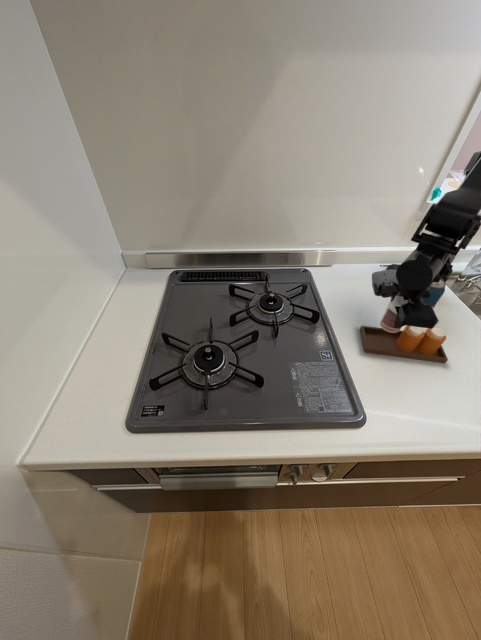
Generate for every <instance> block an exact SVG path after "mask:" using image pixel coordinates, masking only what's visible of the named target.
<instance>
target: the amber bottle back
mask: <svg viewBox="0 0 481 640" xmlns="http://www.w3.org/2000/svg"><path fill="white" fill-rule="evenodd" d="M446 340H447V336H446V332H445V331H444V330H443V328H440V327H436V326H434V328H432V329H430V328H426V330H425V332H424V337H423V338H422V340H421V341H420V342H419V344H418V345H417V347H416V348H417V350H418V351H419V352H421V353H422V354H425V355H433V354H434V353H435V352H436V351H437V350H438V348H439V347H440V346H441V345H442V346H443V343H445V341H446Z"/></svg>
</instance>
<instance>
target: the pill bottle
mask: <svg viewBox="0 0 481 640" xmlns="http://www.w3.org/2000/svg"><path fill="white" fill-rule="evenodd" d="M406 303H408V302H405V301H404V300H403V297H401V296H399V295H397V296H396V297H395V298H394V300H393V302H391V303H390V302H389V304H388V305H387V308H386V310H385V311H384V313H383V315H382V317H381V319H380V320H379V321H380V322H379V326H380V328H383V329H384V330H386V331H388V332H392V333H396V332H398V331H400V330H401V329H402V328H403V327H401V328H399V329H395V328H394V323H395V320H396V318H397V315H398V314H397V312H396V309H395V306H398V307H401V306H402V305H404V304H406Z"/></svg>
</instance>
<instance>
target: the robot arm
mask: <svg viewBox="0 0 481 640" xmlns="http://www.w3.org/2000/svg"><path fill="white" fill-rule="evenodd" d="M463 176H465V177H464V179H463V181H462V182H461V183H460V185H459V186H458V187H457V188H456V189H454V190H451V191H448V192H445V193H444V194H443V195H442V196H441V197H440V199H439V200H438V201H437V202H436V203H435V202H433V203H432V204H431V205H430V207H429V208H428V211H426V213H425V215H424V217H423V218H422V219H421V221H420V223H419V224H418V226H417V228H416V230H415V232H414V233H413V235H412V237H411V238H410V241H411V242H413V243H417V246H416V248H415V249H414V250H413V251H411V253H410V254H409V255H408V256H407V257H406V258H405V259H404V260H403V261H402V262H401V263H400V264H398V263H392V264H390V265H388V266H386V268H385V270H379V271H374V272H372V273H371V287H372V291H373V294H374V296H376V297H381V298H383V299H386V298H390V300H389V301H390V302H389V304H390V303H391V302H393V300H394V298H395V297H396V296H397V295H399V296H401V297H403V300H404V301H405V302H408V303H406V304H404V305H402V306H401V307H398V306H395V309H396V312H397V314H398V315H397V318H396V320H395V323H394V328H395V329H399V328H401V327H402V328H403V327H406V326H414V327H421V328H422V329H429V328H430V329H432V328H434V327H436V326H437V324H438V322H439V321H440V320H439V318H438V316H437V314H436V312H435V310H434V308H432V306H431V305H426V304H424V303H422V301H421V298H429V296H430V295H431V294H430V292H429V288H430V286H431V285H432V283H433V282H439V281H440V279H443V280H444V281H445V283H446V282H447V280H449V278H450V277H451V275H452V273H453V272H454V270H453V267H454V265H453V262H454V260H455V259H456V256H458V254H459V252H460V250H466V249H467V247H468V245H469V244H470V242H471V241H472V239H473V238H474V236H475V235H476V233H477V232H478V230H479V229H480V228H481V215H480V212H481V150H478V151H475V152H473V154H472V156H471V157H470V159H469V161H468V162H467V164H466V166H465V168H464V169H463ZM423 230H425V231H426V232H428V233H426V232H422V231H423ZM429 232H430V234H429ZM459 241H460V243H459V244H458V242H459ZM457 244H458V245H457ZM402 328H401V329H402Z"/></svg>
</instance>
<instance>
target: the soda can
mask: <svg viewBox="0 0 481 640" xmlns="http://www.w3.org/2000/svg"><path fill="white" fill-rule="evenodd" d="M446 286H447V283H446V282H445V281H444V280H443V279H440V281H439V282H433V283H432V285H431V286H430V288H429V292H430V294H431V295H430V296H429V298H421V301H422V303H424V304H426V305H431V306H432V308H433V309H434V308H435V307H436V305H437V304H438V302H439V301H440V299H441V298H442V296H443V295H444V293H446Z"/></svg>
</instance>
